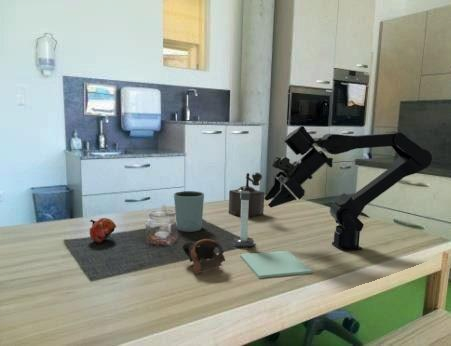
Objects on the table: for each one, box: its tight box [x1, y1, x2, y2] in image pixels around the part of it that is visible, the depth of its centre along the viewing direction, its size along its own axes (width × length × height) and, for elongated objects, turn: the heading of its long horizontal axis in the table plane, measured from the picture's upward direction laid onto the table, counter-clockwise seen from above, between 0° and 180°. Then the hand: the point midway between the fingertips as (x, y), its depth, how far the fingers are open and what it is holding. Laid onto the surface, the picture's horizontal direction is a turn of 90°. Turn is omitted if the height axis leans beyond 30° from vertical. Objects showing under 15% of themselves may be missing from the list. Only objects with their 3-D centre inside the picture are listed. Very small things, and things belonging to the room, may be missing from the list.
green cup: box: [173, 190, 205, 233], centre depth 121 cm, size 10×10×12 cm
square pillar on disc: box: [232, 191, 255, 249], centre depth 106 cm, size 6×6×16 cm
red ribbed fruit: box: [89, 217, 117, 244], centre depth 106 cm, size 7×7×10 cm
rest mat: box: [239, 250, 313, 279], centre depth 92 cm, size 14×14×1 cm
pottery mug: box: [182, 238, 226, 275], centre depth 89 cm, size 12×10×8 cm
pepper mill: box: [228, 172, 265, 219], centre depth 141 cm, size 16×11×18 cm
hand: (267, 202), depth 105 cm, fingers open, 9 cm apart
